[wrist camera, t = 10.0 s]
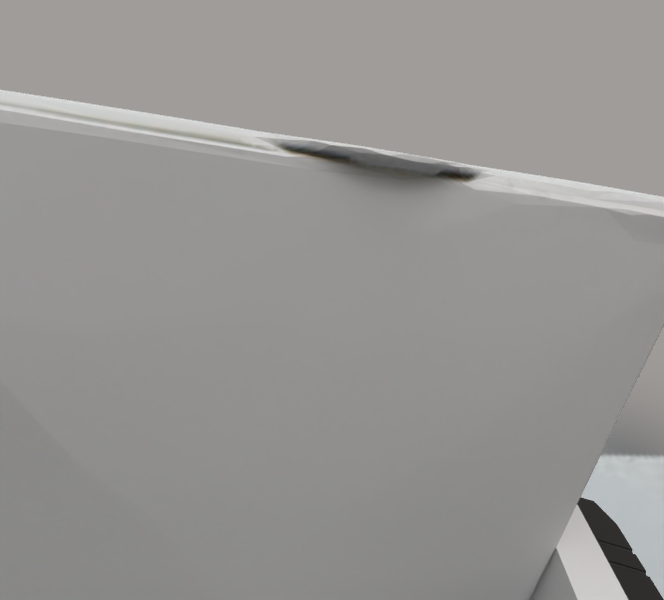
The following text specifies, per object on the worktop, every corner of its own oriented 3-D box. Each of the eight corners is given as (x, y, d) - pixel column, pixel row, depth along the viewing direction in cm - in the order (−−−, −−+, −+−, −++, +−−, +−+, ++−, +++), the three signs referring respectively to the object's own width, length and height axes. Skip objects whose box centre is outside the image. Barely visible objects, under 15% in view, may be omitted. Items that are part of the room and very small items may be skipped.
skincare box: (354, 590, 15) (461, 185, 10) (425, 894, 8) (793, 212, 4) (122, 612, 13) (117, 120, 8) (-4, 1028, 6) (-347, -49, 2)
